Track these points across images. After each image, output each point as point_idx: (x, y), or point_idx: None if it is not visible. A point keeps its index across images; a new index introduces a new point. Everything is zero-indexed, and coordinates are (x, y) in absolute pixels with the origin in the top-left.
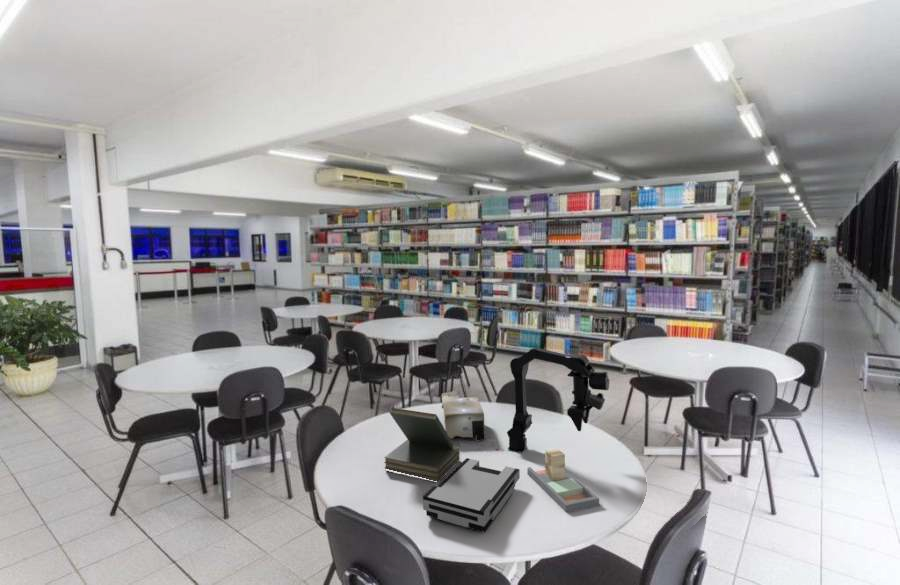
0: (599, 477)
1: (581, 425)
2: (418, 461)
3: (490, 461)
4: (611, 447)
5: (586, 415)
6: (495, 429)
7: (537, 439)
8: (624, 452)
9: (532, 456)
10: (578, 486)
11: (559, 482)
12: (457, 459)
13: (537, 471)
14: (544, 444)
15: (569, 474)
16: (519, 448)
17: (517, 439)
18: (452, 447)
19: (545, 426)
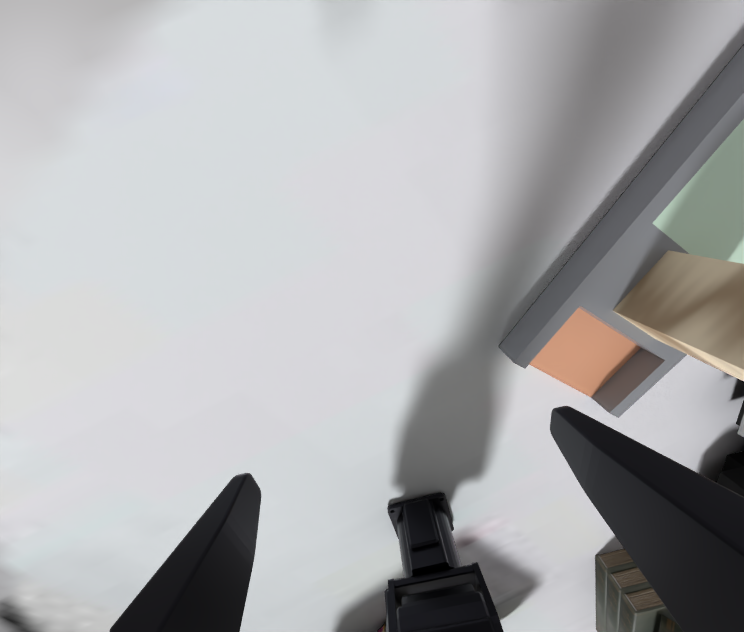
0: (472, 138)
1: (659, 472)
2: None
3: (558, 512)
4: (62, 262)
5: (190, 628)
6: (335, 611)
7: (298, 515)
8: (39, 162)
9: (447, 457)
10: (738, 143)
11: (717, 249)
12: (613, 564)
13: (570, 384)
14: (318, 481)
15: (613, 254)
16: (440, 512)
17: (457, 558)
18: (666, 622)
19: (166, 554)
